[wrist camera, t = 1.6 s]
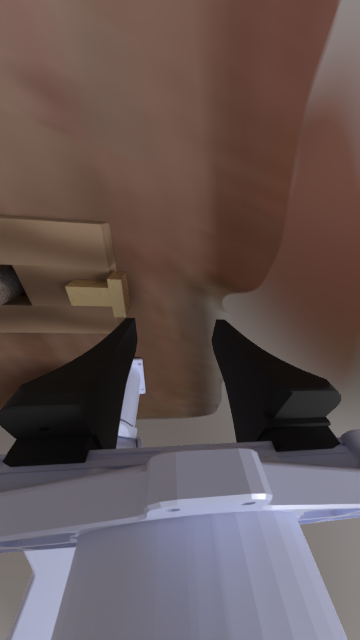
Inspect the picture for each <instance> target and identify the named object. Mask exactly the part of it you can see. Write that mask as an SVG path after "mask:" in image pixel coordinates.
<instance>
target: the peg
mask: <svg viewBox="0 0 360 640" xmlns="http://www.w3.org/2000/svg"><path fill="white" fill-rule="evenodd" d="M23 292H25V290H24V288H23V286H22V284H21V282H20V280H19V278H18V276H17V274H16V272H15V270H14V268H13V266H12V265H4V266H1V267H0V306H1V305H2V304H4V303H6V302H8V301H9V300H11V299H13V298H15V297H16V296H18V295H20V294H22V293H23Z"/></svg>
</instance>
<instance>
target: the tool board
mask: <svg viewBox="0 0 360 640" xmlns="http://www.w3.org/2000/svg"><path fill="white" fill-rule="evenodd" d="M0 264H6V265H12V266H13V268H14V270H15V272H16V274H17V276H18V278H19V280H20V282H21V284H22V286H23V288H24V290H25V292H26V294H27V295H18V296H16V297H15V298H13V299H11V300H9V301H8V302H6V303H4V304H2V305H1V306H0V333H111V332H112V331H113V330H114V329H115V328H116V327H117V326H118V325H119V324H120V323H121V322H122V321H124V317H114V313H113V308H112V307H106V306H72V305H71V302H70V299H69V296H68V294H67V291H66V288H65V286H66V285H68V284H69V283H70V282H72V281H73V280H99V281H107V278H108V277H109V276H110V275H111V274H112V273H113V272H114V271H116V272H117V270H116V264H115V258H114V251H113V245H112V238H111V232H110V226H109V223H108V222H93V221H78V220H63V219H48V218H33V217H18V216H3V215H0Z"/></svg>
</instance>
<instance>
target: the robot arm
mask: <svg viewBox="0 0 360 640" xmlns="http://www.w3.org/2000/svg"><path fill="white" fill-rule="evenodd" d="M212 345H213V350H214V354H215V356H216V359H217V362H218V365H219V368H220V371H221V373H222V376H223V379H224V382H225V386H226V390H227V394H228V399H229V403H230V408H231V413H232V417H233V423H234V429H235V435H236V441H237V443H222V444H202V445H183V446H164V447H143V444H142V441H141V439H140V438H139V437H136V434H137V428H135V427H134V426H135V422H136V415H137V409H138V402H139V395H140V394H144V393H145V381H144V371H143V361H142V359H140V358H134V355H135V352H136V346H137V332H136V323H135V318H126V319H125V320H124V321H122V322H121V323H120V324H119V325H118V326H117V327H116V328H115V329H114V330H113V331H112V332H111V333H110V334H109V335H108V336H107V337H106V338H104V339H103V340H102V341H101V342H100V343H98V344H97V345H96V346H94V347H93V348H92V349H90V350H89V351H87V352H86V353H84V354H83V355H81V356H79V357H78V358H76V359H74V360H73V361H71V362H69V363H68V364H66V365H64V366H62V367H60V368H58V369H56V370H54V371H52V372H50V373H48V374H46V375H43V376H41V377H39V378H37V379H34V380H32V381H30V382H27V383H25V384H23V385H21V387H20V388H19V389H18V390H17V391H16V392H15V394H14V395H13V396H12V397H11V398H10V400H9V401H8V402H7V403H6V404H5V406H4V407H3V408H2V409H1V410H0V425H1V427H2V428H4V429H5V430H6V431H7V432H8V433H10V434H11V435H12V436H13V437H14V438H16V439H17V440H16V441H15V443H14V445H13V446H12V447H11V449H10V450H9V452H8V453H7V454H6V455H0V553H8V552H21V551H23V552H24V553H25V556H26V558H27V559H28V561H29V563H30V565H31V567H32V570H33V572H32V574H31V577H30V580H29V582H28V585H27V587H26V590H25V592H24V595H23V598H22V600H21V603H20V605H19V608H18V610H17V613H16V616H15V618H14V621H13V623H12V626H11V628H10V631H9V634H8V636H7V639H6V640H347V637H346V635H345V633H344V630H343V628H342V625H341V623H340V621H339V618H338V616H337V613H336V611H335V609H334V606H333V604H332V602H331V599H330V597H329V595H328V592H327V590H326V587H325V585H324V582H323V580H322V578H321V575H320V573H319V570H318V568H317V566H316V564H315V561H314V559H313V556H312V554H311V551H310V549H309V546H308V544H307V542H306V539H305V537H304V535H303V532H302V530H301V527H300V524H307V523H316V522H323V521H332V520H340V519H348V518H356V517H360V430H359V429H358V430H351V431H348V432H346V433H344V434H343V435H342V436H341V437H340V438H336V436H335V435H334V434H333V433H332V431H331V430H330V428H329V427H328V426H329V425H330V422H329V420H328V419H327V418H326V416H327V415H328V414H329V413H330V412H331V411H332V410H333V409H334V408H336V407H337V406H338V404H339V403H340V401H341V395H340V394H339V392H338V391H337V390H336V389H335V388H334V387H333V386H332V385H331V384H330V383H329V382H328V381H327V380H326V379H324V378H321V377H319V376H316V375H313V374H311V373H309V372H306V371H303V370H301V369H299V368H297V367H294V366H292V365H290V364H288V363H286V362H284V361H282V360H280V359H278V358H277V357H275V356H273V355H271V354H269V353H268V352H266V351H265V350H263V349H261V348H260V347H258V346H257V345H255V344H254V343H253V342H251V341H250V340H249V339H247V338H246V337H244V336H243V335H242V334H241V333H240V332H239V331H237V330H236V329H235V328H234V327H233V326H231V325H230V324H229V323H228V322H227V321H225V320H216V323H215V327H214V332H213V336H212Z"/></svg>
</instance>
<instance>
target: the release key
mask: <svg viewBox="0 0 360 640" xmlns="http://www.w3.org/2000/svg"><path fill="white" fill-rule="evenodd" d="M65 288H66V291H67V294H68V296H69V299H70V302H71V305H72V306H106V307H112V308H113V313H114V317H127V314H128V312H129V309H130V299H129V291H128V283H127V275H126V272H116V271H114V272H113V273H112V274H111V275H110V276H109V277H108V278H107V281H99V280H73V281H72V282H70V283H69V284H68V285H66V286H65Z"/></svg>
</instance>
